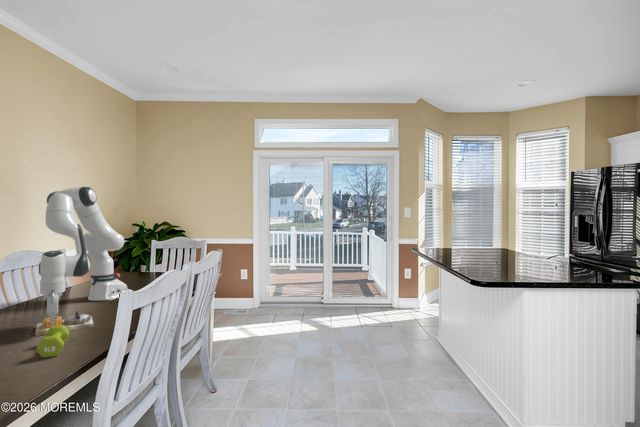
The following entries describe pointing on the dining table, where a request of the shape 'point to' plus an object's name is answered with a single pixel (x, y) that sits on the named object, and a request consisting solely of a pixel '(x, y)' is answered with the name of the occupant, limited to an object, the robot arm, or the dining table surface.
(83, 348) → the dining table surface
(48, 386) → the dining table surface
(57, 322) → the orange gear
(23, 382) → the dining table surface
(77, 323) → the gear board
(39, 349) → the dumbbell
